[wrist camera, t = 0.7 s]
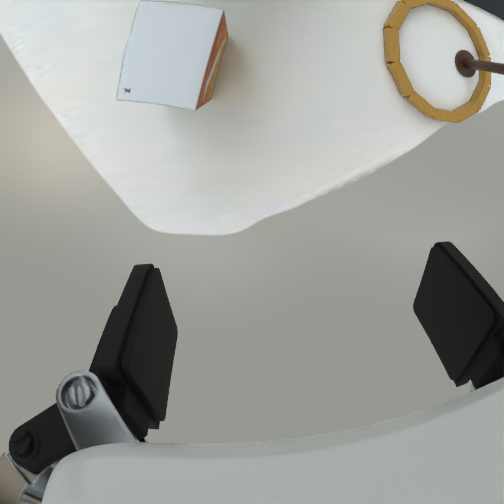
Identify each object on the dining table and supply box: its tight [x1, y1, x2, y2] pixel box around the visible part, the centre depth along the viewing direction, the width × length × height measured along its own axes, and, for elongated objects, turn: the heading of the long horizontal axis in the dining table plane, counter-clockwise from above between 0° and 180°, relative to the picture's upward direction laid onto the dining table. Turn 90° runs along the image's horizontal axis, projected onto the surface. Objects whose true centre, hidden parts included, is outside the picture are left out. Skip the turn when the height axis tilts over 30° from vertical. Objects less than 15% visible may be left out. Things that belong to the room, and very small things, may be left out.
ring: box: [383, 0, 491, 123], centre depth 25 cm, size 18×18×1 cm
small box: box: [116, 0, 228, 110], centre depth 22 cm, size 8×6×13 cm
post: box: [455, 50, 504, 77], centre depth 22 cm, size 4×4×9 cm
